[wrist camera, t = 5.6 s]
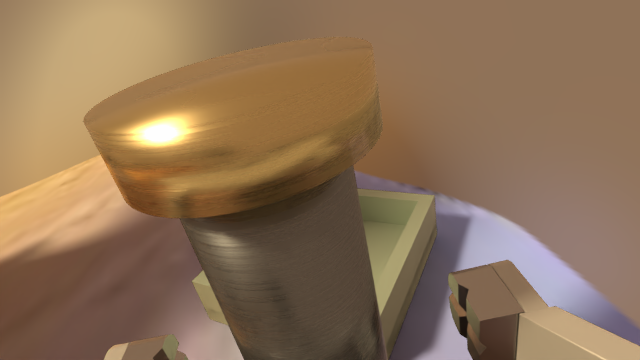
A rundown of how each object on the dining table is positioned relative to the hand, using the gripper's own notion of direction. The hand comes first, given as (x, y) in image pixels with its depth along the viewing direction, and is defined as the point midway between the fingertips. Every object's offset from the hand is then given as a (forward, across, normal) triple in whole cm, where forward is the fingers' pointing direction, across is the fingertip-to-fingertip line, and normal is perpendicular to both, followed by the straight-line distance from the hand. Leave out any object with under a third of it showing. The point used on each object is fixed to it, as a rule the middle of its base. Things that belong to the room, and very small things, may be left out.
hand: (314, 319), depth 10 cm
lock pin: (-1, 0, -8) cm, 9 cm away
